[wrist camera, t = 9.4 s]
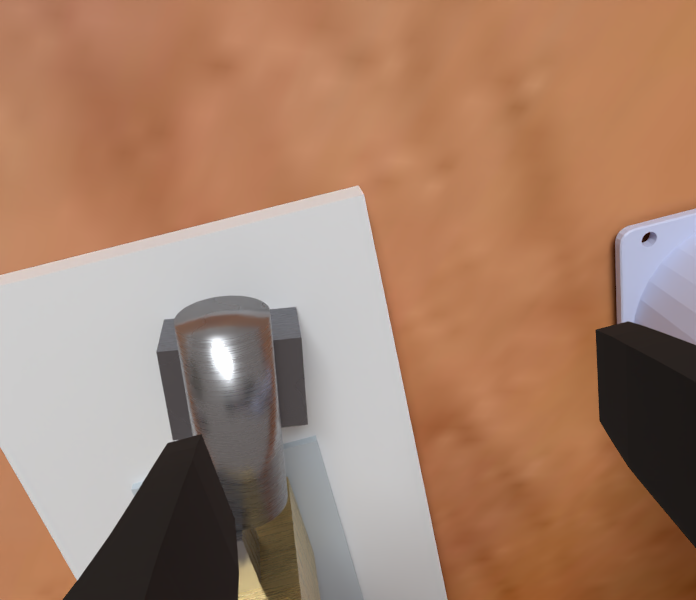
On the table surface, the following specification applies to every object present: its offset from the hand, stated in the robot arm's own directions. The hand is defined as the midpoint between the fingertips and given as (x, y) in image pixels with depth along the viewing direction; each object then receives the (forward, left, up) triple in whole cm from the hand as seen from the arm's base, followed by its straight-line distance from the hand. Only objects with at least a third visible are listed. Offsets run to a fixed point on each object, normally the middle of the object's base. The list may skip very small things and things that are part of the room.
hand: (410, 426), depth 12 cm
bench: (+6, +11, -10) cm, 16 cm away
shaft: (+4, +3, -9) cm, 10 cm away
